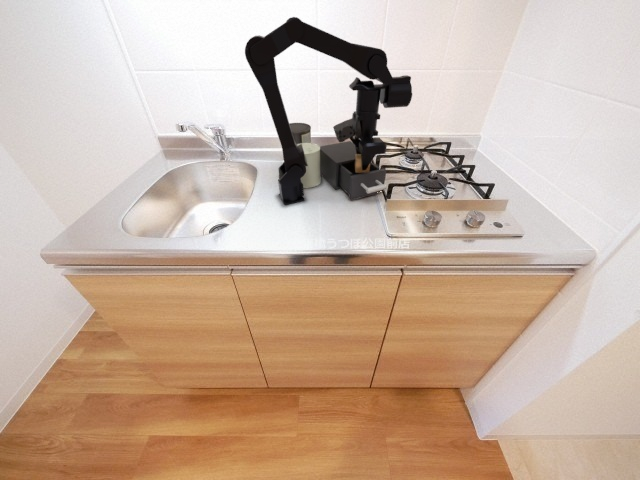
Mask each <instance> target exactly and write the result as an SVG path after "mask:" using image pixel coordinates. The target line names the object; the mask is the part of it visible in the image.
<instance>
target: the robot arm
mask: <svg viewBox="0 0 640 480" xmlns="http://www.w3.org/2000/svg"><path fill="white" fill-rule="evenodd" d="M295 43H296V44H299V45H302V46H305V47H307V48H309V49H312V50H314V51H316V52H319V53H322V54H324V55H327V56H329V57H331V58H334V59H336V60H339V61H341V62H343V63H344V64H345V65H348V67H350V68H351V69H353V70H355V71H356V72H357V73H359V74H360V75H361V76H363V77H365V78H367V79H369V80H361V78H359V77H355V78H354V80H353V81H352V82H351V83H350V84H349V85H348V88H349V89H351V90H352V91H355V92H356V104H355V110H354V111H353V112H352V115H351V117H352V118H349V119H346V120H344V121H341V122H339V123H337V124H335V125H334V126H333V127H332V128H333V131H334V135H335V137H336V140H337V141H338V143H342V142H346V140H348V139H349V141H351V142H352V143H354V144H355V149H356V154H361V164H362V170H366V169H367V167H368V166H369V164H370V163H371V161H373V160H374V158H376V156H377V155H384V154H386V152H387V147H388V145H387V144H386V143H385V142H384V140H382V138H380V137H377V136H379V131H378V130H377V124H378V120H381V114H380V113H379V108H380V105H382V106H383V108H384V109H392V108H407V107H408V106H410V103H411V101H412V99H413V88H412V87H413V86H412V83H411V80H412V77H411V76H410V75H401V76H392V74H391V71H390V69H389V67H388V57H387V53H386V51H384V50H383V49H382V48H378V47H373V46H369V45H363V44H358V43H352V42H349V41H348V40H345V39H343V38H341V37H338V36H335V35H334V34H332V33H330V32H327V31H326V30H325V31H324V30H322V29H320V28H318V27H316V26H313V25H311V24H309V23H307V22H304V21H303V20H302V19H300V18H299V17H296V16H292V17H289V18H288V19H287V20H286V21H285V22H284V23H282V24H281V25H280V26H278V27H277V28H275V29H274V30H272V31H271V32H269V33H268V34H266V35H264V36H263V35H259V34H258V35H254V36H252V37H250V38H249V39H248V41H246V44H245V47H244V56H245V59H246V61H247V63H248V65H249V68H250V69H251V71H252V73H253V75H254V77H255V79H256V80H257V82H258V84H259V86H260V87H261V89H262V92H263V94H264V97H265V100H266V101H265V102H266V104H267V107H268V109H269V113H270V116H271V118H272V122H273V125H274V127H275V131H276V133H277V136H278V139H279V143H280V146H281V150H282V157H283V162H282V163H281V165H279V167H278V179H277V184H278V190H279V193H278V197H279V199H280V200H281V202H282V204H283V205H284V206H287V205H292V204H296V203H301V202H303V201H305V197H304V195H305V193H304V188H303V183H302V182H301V178H302V177H303V176H304V175H305V173H306V166H308V164H307V160H306V157H305V155H304V150H303V146H302V144H300V145H298V146H297V144H296V142H295V140H294V138H293V134H292V131H291V128H290V120H289V118H288V115H287V110H286V107H285V103H284V101H283V97H282V93H281V91H280V86H279V84H278V83H279V82H278V78H277V77H278V76H277V69H276V63H275V58H276V57H278V56H279V55H280V54H281V53H283V52H284V51H286V50H287V49H288V48H290V47H291V46H293V45H294V44H295ZM373 80H374V81H375V80H376V81H377V82H380V83H376V84H375V83H374V81H373Z"/></svg>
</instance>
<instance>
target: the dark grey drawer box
mask: <svg viewBox="0 0 640 480" xmlns="http://www.w3.org/2000/svg"><path fill="white" fill-rule="evenodd" d="M319 146H320V176H321V177H323V178H324V179H325V180H326V181H327V182H328V183H329V185H331V187H333V189H334V190H341V189H342V188H341V187H340V186H339V185H338V170H339V165H341V164H346V163H351V162H355V156H356V149H355V144H354V143H353V142H352V141H351V140H349V141H343V142H336V143H331V144H325V145H319ZM372 161H373V160H372ZM372 161H371V162H372ZM372 163H373V162H372Z"/></svg>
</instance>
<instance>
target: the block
mask: <svg viewBox="0 0 640 480" xmlns="http://www.w3.org/2000/svg"><path fill="white" fill-rule="evenodd" d="M369 170H370V164H369V166H368V167H367V169H366V170H362V164H361V154H356V156H355V172H356V173H366V172H369Z"/></svg>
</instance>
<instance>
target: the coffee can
mask: <svg viewBox="0 0 640 480" xmlns="http://www.w3.org/2000/svg"><path fill="white" fill-rule="evenodd" d="M289 124H290V128H291V131H292V134H293V138H294V140H295V142H296V144H300V143H312V132H311V130H312V126H311V125H310V124H308V123H305V122H291V123H290V122H289Z"/></svg>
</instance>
